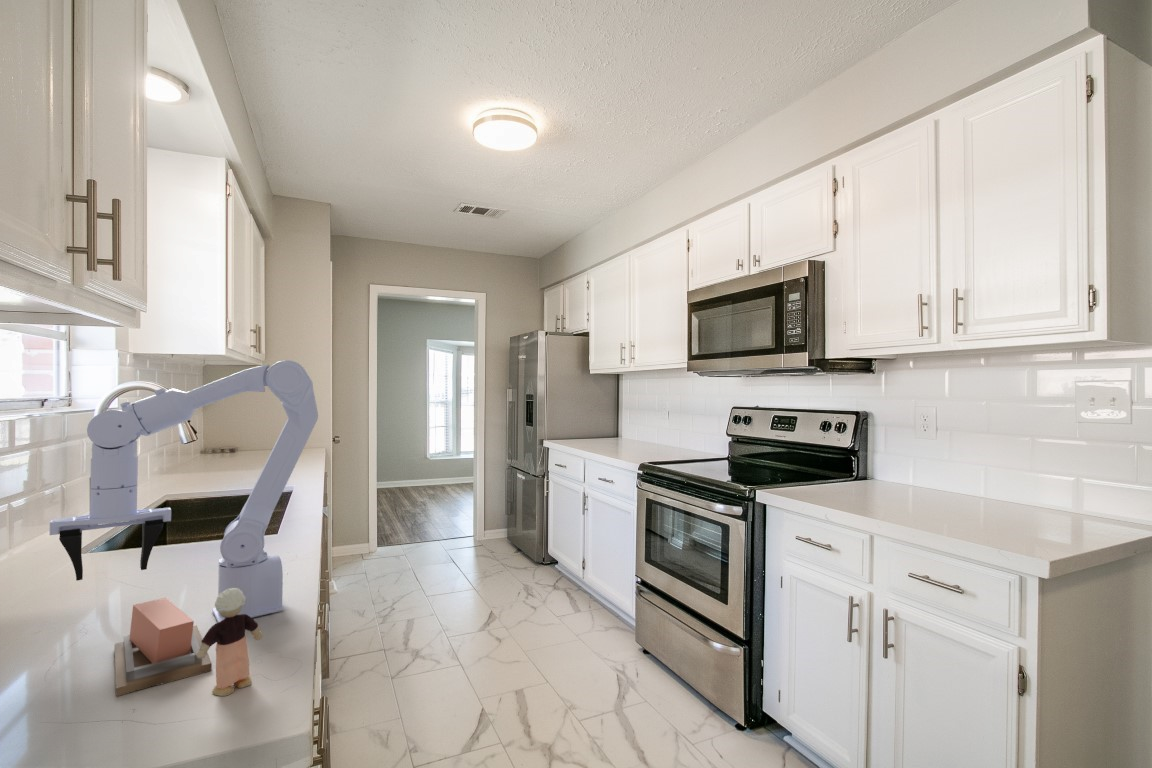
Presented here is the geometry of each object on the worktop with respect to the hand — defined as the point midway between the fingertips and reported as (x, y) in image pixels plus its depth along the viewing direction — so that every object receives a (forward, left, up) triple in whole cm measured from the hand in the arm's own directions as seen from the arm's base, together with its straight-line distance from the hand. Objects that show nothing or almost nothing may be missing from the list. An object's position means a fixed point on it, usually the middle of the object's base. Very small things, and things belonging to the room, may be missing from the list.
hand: (112, 573), depth 87 cm
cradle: (-5, +16, -10) cm, 19 cm away
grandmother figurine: (-11, +31, -10) cm, 34 cm away
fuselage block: (-5, +15, -8) cm, 18 cm away
